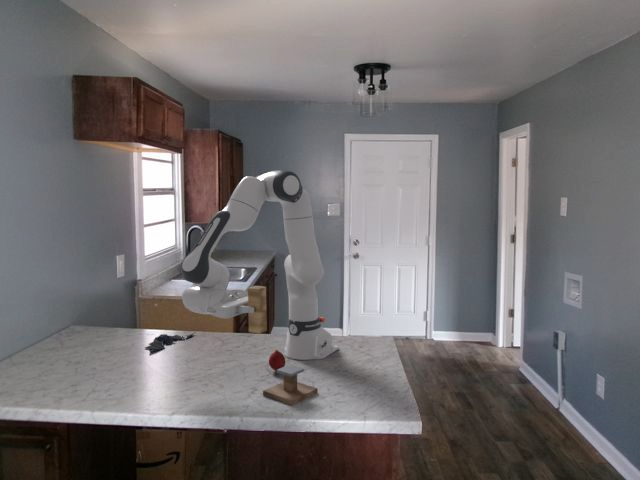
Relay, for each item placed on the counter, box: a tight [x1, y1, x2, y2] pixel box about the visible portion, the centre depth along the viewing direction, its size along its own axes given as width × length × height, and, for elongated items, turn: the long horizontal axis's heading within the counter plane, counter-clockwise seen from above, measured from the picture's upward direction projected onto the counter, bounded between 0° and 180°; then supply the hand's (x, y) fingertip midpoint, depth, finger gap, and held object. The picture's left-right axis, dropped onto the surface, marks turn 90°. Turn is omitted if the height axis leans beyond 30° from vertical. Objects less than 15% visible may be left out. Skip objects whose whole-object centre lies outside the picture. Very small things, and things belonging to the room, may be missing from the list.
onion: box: [268, 348, 286, 373], centre depth 184 cm, size 6×6×8 cm
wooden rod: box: [247, 285, 268, 335], centre depth 165 cm, size 4×4×14 cm
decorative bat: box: [144, 331, 196, 353], centre depth 218 cm, size 30×4×10 cm
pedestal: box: [262, 364, 319, 406], centre depth 165 cm, size 12×12×8 cm
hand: (259, 308), depth 165 cm, fingers closed on wooden rod, 4 cm apart
